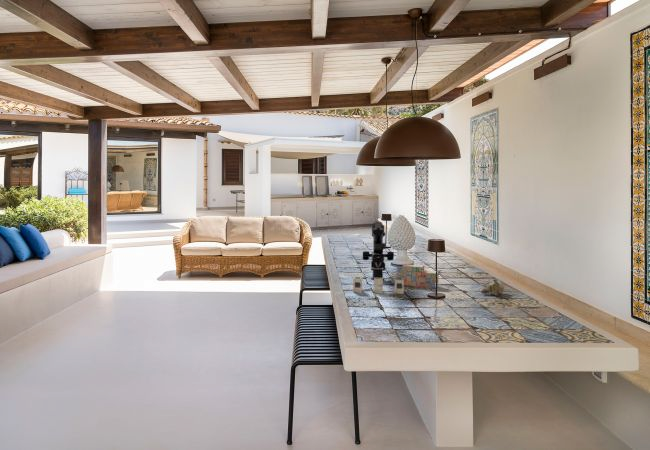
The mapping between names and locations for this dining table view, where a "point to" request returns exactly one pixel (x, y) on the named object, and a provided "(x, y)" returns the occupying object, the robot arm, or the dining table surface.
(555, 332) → the dining table surface
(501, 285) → the ceramic sculpture
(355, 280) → the marked block 1
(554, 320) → the dining table surface
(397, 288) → the marked block 2
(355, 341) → the dining table surface
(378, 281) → the plain block
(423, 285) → the stack of blocks
